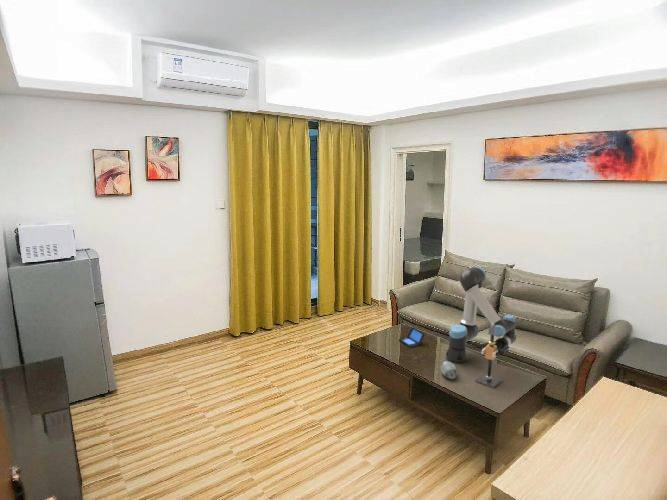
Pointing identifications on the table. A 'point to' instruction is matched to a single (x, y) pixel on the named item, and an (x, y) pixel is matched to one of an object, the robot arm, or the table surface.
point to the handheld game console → (413, 338)
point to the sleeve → (490, 352)
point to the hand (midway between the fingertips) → (487, 353)
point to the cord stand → (489, 364)
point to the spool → (448, 370)
